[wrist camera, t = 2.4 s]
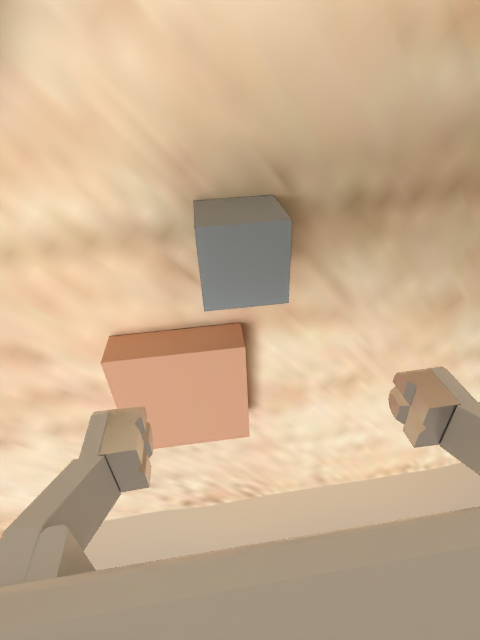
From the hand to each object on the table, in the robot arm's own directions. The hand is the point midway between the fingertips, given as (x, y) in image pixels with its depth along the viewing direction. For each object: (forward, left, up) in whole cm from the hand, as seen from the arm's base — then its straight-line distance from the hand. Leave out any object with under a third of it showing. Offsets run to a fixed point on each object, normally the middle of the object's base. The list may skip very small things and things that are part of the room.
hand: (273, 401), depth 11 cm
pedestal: (+5, +12, -14) cm, 19 cm away
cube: (0, 0, -15) cm, 15 cm away
